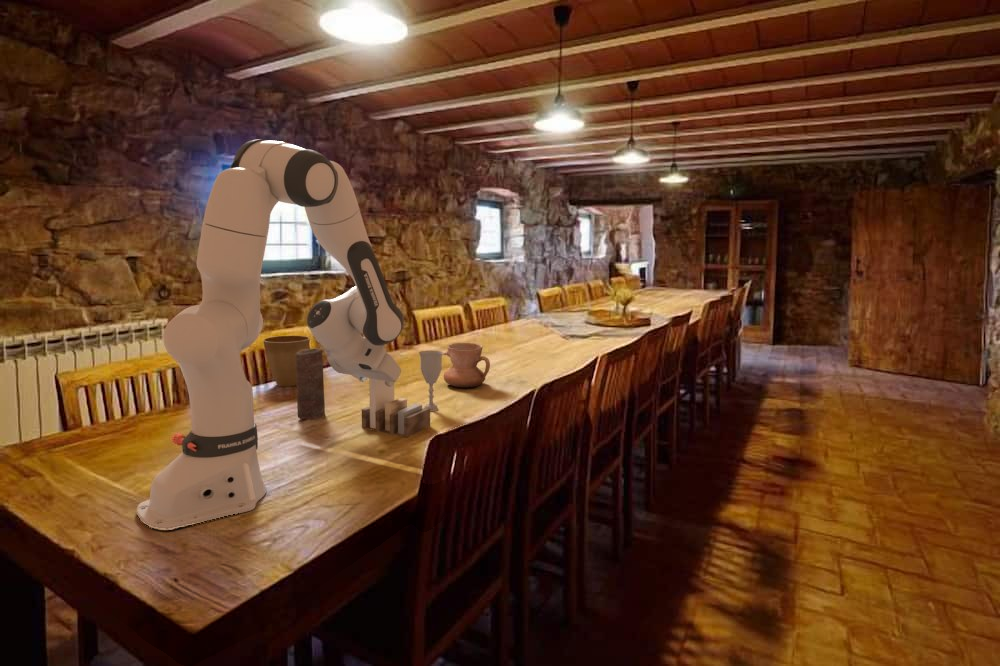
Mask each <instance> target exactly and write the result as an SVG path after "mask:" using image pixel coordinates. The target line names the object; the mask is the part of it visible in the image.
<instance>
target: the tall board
mask: <svg viewBox="0 0 1000 666" xmlns="http://www.w3.org/2000/svg"><path fill="white" fill-rule="evenodd" d="M368 384H369V385H368V386H369V387H368V388H369V394H368V395H369V406H370V428H374V429H376V419H375V412H377V411H379V410H382V409H384V408H385V404H387V403H389V402H392V401H394V400H395V383H394V384H393V386H392V387H389V386H386V385H385V381H384V380H378V379H372V378H368Z"/></svg>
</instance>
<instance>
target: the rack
mask: <svg viewBox="0 0 1000 666" xmlns="http://www.w3.org/2000/svg"><path fill="white" fill-rule="evenodd" d="M424 408H425V407H424ZM424 408H422V410H420V411H418V412H416V413H413V414H411V415H409V416H407V417H404V435H403V434H398V411H397V412H395V413H393V414H390V431H388V430H385V408H384V409H382V410H379V411H377V412H375V419H376V429H374V428H370V405H368V406H367V407H364V408H361V428H362V429H368V430H371V431H376V432H381V433H384V434H385V433H387V434H391V435H395V436H400V437H405V438H410V437H412V436H414V435H416V434H418V433H420V432H422V431H424V430H427V428H430V427H431V411H430V408H425V409H424Z"/></svg>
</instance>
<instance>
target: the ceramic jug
mask: <svg viewBox="0 0 1000 666" xmlns="http://www.w3.org/2000/svg"><path fill="white" fill-rule="evenodd" d="M442 352H443V355H442V356H447V357H448V358H449V359H450V361H451V364H452V366H451V367H450V368H448V369H447V370H445V371H444V372H443V373H444V374H443V380H444V381H445V383H446V384H448V385H449V386H451V387H455V388H461V389H462V388H463V389H465V388H474V387H477V386H478V387H479V386H480V385H482V384H483V383H484V382H485V380H486V377H487V376H488V373H489V371H490V367H491V362H490V359H489V358H488V357H487V356H483V355H482V353H483V345H482V344H479V343H474V342H453V343H449V344H448V345H447V350H445V351H442ZM481 355H482V356H481ZM482 361H484V363H485V369H484V371H482V369H480V368H479V367H477V365H478V364H479V363H480V362H482Z"/></svg>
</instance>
